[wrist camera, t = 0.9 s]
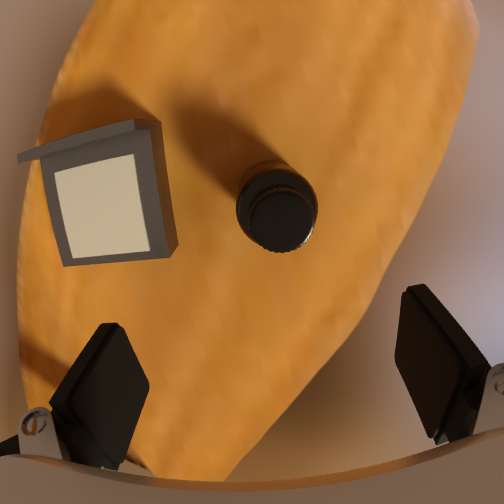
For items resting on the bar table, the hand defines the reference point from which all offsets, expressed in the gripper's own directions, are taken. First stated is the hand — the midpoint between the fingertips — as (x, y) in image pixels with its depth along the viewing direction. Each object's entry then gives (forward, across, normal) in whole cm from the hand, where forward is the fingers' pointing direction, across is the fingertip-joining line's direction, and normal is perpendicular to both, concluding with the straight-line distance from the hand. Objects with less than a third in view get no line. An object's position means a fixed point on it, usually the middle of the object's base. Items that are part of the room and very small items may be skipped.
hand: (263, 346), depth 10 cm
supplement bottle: (+25, -1, 0) cm, 25 cm away
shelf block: (+25, +17, -3) cm, 30 cm away
